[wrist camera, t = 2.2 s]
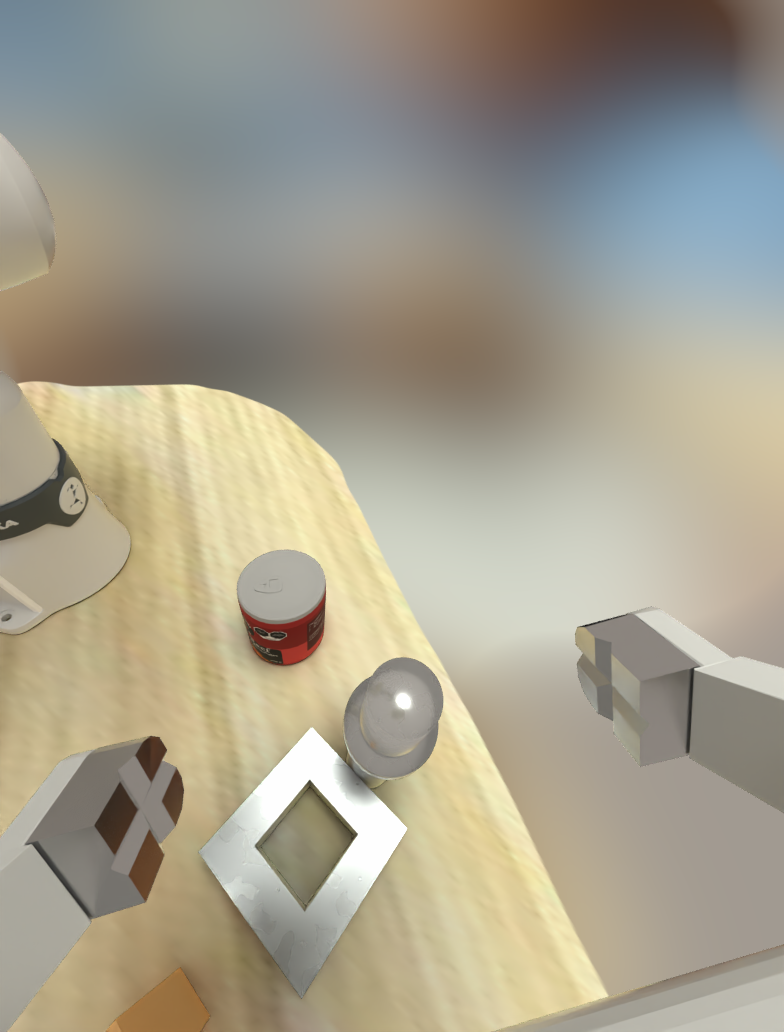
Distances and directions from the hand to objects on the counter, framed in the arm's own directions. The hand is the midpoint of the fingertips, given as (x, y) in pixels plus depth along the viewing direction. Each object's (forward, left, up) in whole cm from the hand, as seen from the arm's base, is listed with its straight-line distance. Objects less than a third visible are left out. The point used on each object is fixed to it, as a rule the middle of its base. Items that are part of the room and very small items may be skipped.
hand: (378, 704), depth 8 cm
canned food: (-5, +17, -35) cm, 40 cm away
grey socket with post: (0, +1, -35) cm, 35 cm away
